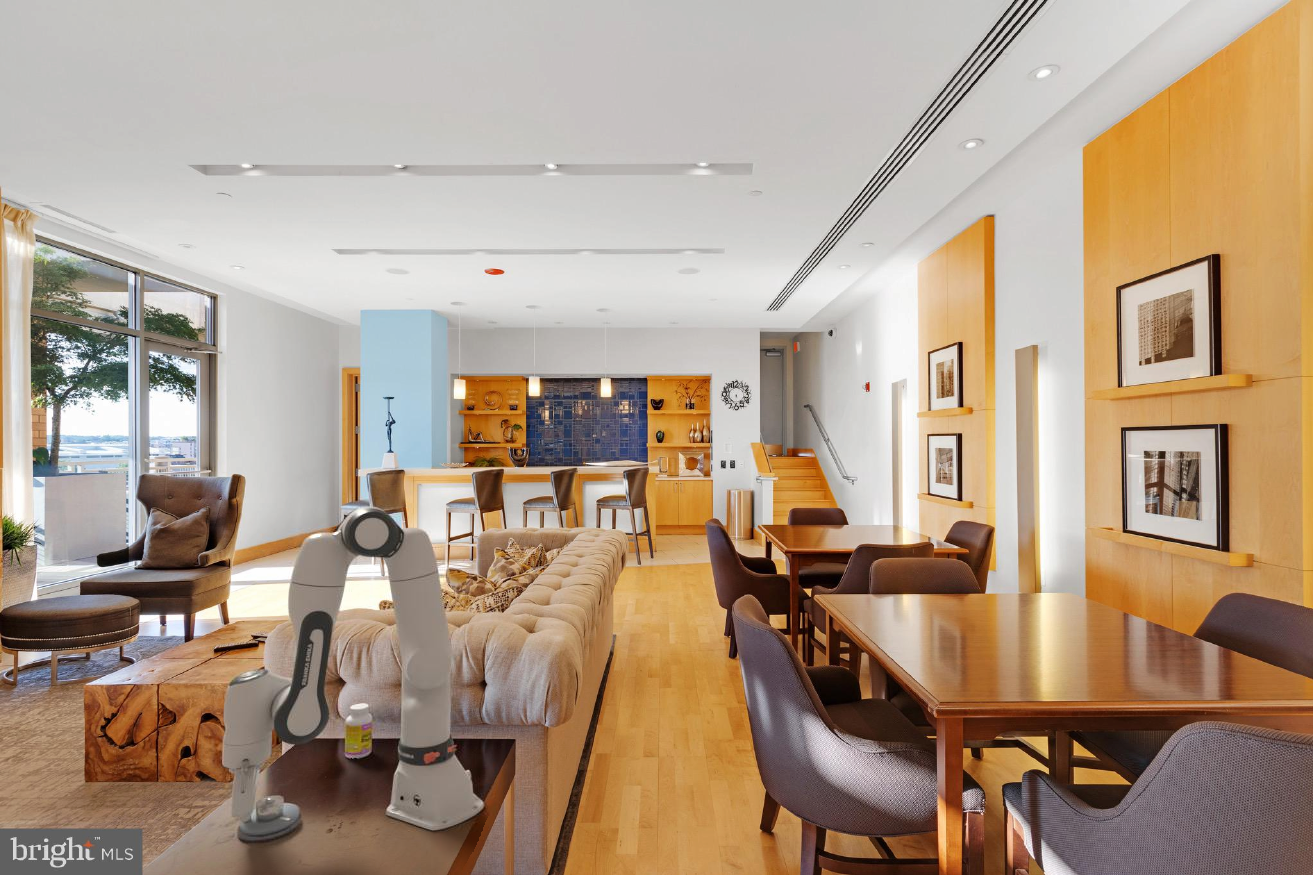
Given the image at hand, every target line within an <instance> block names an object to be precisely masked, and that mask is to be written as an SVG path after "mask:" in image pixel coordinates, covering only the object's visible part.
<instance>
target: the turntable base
mask: <svg viewBox="0 0 1313 875" xmlns="http://www.w3.org/2000/svg"><path fill="white" fill-rule="evenodd" d="M300 823H302V814H301V812H299V818H298V820H297V821H296V822H295V823H294V824H292V825H291V826H289V827H287V828H285V829H283V830H281V831H278V832H275V833H271V834H266V835H247V834H244V833H242V832H241V831H240V825H238V827H237V839H238V840H239V841H242V842H244V843H249V844H258V843H259V844H260V843H267V842H271V840H272V841H274V839H275V840H278V838H279V839H282V838H283V837H285V836H289V833H290V834H292V833H293V832H294V831H296V830H297V829H298V828H299V827H298V826H299V825H300V826H301V824H300ZM297 827H298V828H297ZM296 828H297V829H296ZM295 829H296V830H295ZM292 831H293V832H292Z"/></svg>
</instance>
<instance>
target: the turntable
mask: <svg viewBox="0 0 1313 875" xmlns="http://www.w3.org/2000/svg"><path fill="white" fill-rule="evenodd" d="M299 813H300V807H299V805H296V804H294V803H290V802H284V806H283V816H282V817H280V818H279V819H277V820H275V821H271V822H266V823H260V822H257V821H256V808H255V809H253V812H252V814H251V815H250V820H249V821H245V822H240V821H239V826H240V831H241V832H242V833H244V834H247V835H266V834H271V833H275V832H278V831H281V830H283V829H285V828H287V827H289V826H291V825H292V824H294V823H295V822H296V821H297V820H298V818H299Z"/></svg>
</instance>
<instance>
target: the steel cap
mask: <svg viewBox="0 0 1313 875" xmlns="http://www.w3.org/2000/svg"><path fill="white" fill-rule="evenodd" d="M284 801H285V800H284V796H282V795H270V796H266V797H263V798H261V799H259V800H258V801H256V803H255V809H256V821H257V822H260V823H266V822H271V821H275V820H277V819H279V818H280V817H282V816H283V806H284V803H285V802H284Z"/></svg>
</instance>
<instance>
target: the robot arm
mask: <svg viewBox="0 0 1313 875" xmlns="http://www.w3.org/2000/svg"><path fill="white" fill-rule="evenodd" d="M359 556H360V557H361V556H362V557H365V558H382V559H383V560H384V562H385V564H386V568H387V574H388V581H389V588H390V592H391V593H390V594H391V599H392V606H393V613H394V619H395V625H396V630H397V631H396V634H397V639H398V644H399V646H398V647H399V652H400V658H401V697H400V698H401V704H400V706H401V708H400V709H401V710H400V711H401V712H400V713H401V714H400V739H399V741H398V746H397V752H398V754H397V756H398V759H399V762H398V763H397V764H398V765H397V767H396V770H395V772H394V774H393V779H392V780H393V781H392V790H391V798H390V804H389V806H388V807H386V812H385V814H386V816H387V817H388V816H389V817H391V818H394V819H398V820H401V821H404V822H406V823H409V824H412V825H415V826H418V827H421V828H423V829H427V830H430V831H438V830H439V831H440V830H443V829H446V828H449V827H454V826H455V825H457V824H458V825H459V824H461V823H463V822H465V821H466V820H469V819H470V818H472V817H474V816H476V815H477V814H478V813H480V812H481V811H482V810H483V809H484V807H485V804H484V801H483V800H482V799H481V798H479V797H478V796H477V795H476V794H475V793H474V790H473V789H474V788H473V786H474V785H473V781H472V773H471V771H470V770H469V769H467V770H465V768H464V767H463V765H462V764H461V762H460V760H459V759H458V758H457V756H456V754H455V753H456V751H457V748H456V747H457V744H454V740H453V736H452V734H451V706H452V705H451V701H452V700H451V681H450V680H451V678H450V675H451V672H452V669H453V666H454V654H453V648H452V642H451V637H450V631H449V626H448V619H447V616H446V615H447V614H446V609H445V604H444V598H443V592H442V585H441V581H440V580H441V579H440V574H439V566H438V562H437V559H436V554H435V550H434V548H433V545H432V542H431V539H430V536H429V535H428V533H427V532H426V531H425V530H423V529H422V528H418V527H405V528H402V527H400V525H399V524H398V523H397V522H396V520H395V519H394V518H393V517H392V516H391V515H390V514H389V513H387V512H386V511H384V510H383V509H382V508H379V507H377V506H370V505H367V506H362V507H358V508H354V510H352V511H349V513H348V514H347V515H346V516H345V517H344V518H343V519H342V520H341V521H340V523H339V524H338V525H337V527H336V528H335V529H334V530H333V532H317V533H313V534H311V535H309V536H307V537H306V538H305V539H304V540H303V542H302V544H301V546H300V549H299V550H298V553H297V556H296V559H295V562H294V566H293V569H292V573H291V578H290V582H289V588H288V603H287V606H288V607H287V608H288V609H287V610H288V616H289V619H290V622H291V625H292V628H293V632H294V636H295V646H296V647H295V648H296V649H295V656H294V662H293V669H292V676H291V677H288V676H287V677H286V676H282V675H278V674H275V673H273V672H271V671H269V669H266V668H265V669H262V668H260V669H253V670H250V671H249V670H248V671H246V672H244V673H241V674H239V675H238V676H237V675H236V677H234V678H233V679H232V680H231V681H230V682H229V684H228V685H227V688H226V691H225V695H224V696H225V697H224V703H223V704H224V706H223V723H224V729H225V730H224V735H223V739H222V759H221V763H222V766H223V767H224V768H228V771H229V773H231V774H233V775H234V776H233V781H232V795H231V816H232V818H239V823H240V822H245V821H249V820H250V815H251V814H252V812H253V810H254V807H255V802H256V801H255V800H256V795H257V788H258V782H259V776H260V772H261V768H263V767H264V766H265V761H268V759H270V758H271V756H272V743H273V742H272V738H273V737H272V736H273V735H272V734H273V732H272V731H273V730H274V732H275V735H276V736H277V738H278V739H279V740H280V741H282V742H283V743H285V744H287V745H295V746H296V745H303V744H306V743H309V742H311V741H312V740H314V739H315V738H317V737H318V736H320V734H321V733H322V732H323V731H324V730H325V728H326V726H327V724H328V722H329V718H330V709H329V706H328V703H327V702H328V701H327V698H326V695H325V682H326V676H327V668H328V663H329V657H330V650H331V648H330V647H331V643H332V642H331V641H332V638H333V634H334V631H335V626H336V623H337V622H336V621H337V618H338V615H339V612H340V608H341V605H342V601H343V597H344V593H345V587H346V580H347V576H348V575H347V574H348V570H349V567H350V566H351V563H352V562H353V561H354V559H356V558H357V557H359Z"/></svg>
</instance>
